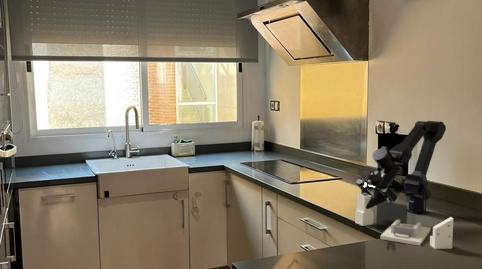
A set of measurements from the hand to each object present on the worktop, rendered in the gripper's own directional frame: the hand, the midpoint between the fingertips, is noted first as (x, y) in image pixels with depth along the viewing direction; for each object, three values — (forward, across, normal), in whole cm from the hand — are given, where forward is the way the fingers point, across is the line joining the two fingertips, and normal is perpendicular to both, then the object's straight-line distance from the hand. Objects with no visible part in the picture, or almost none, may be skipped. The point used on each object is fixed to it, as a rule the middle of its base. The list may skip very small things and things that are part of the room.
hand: (362, 206), depth 183 cm
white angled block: (-1, +31, +10) cm, 33 cm away
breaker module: (+4, 0, +5) cm, 7 cm away
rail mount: (0, +17, +9) cm, 19 cm away
